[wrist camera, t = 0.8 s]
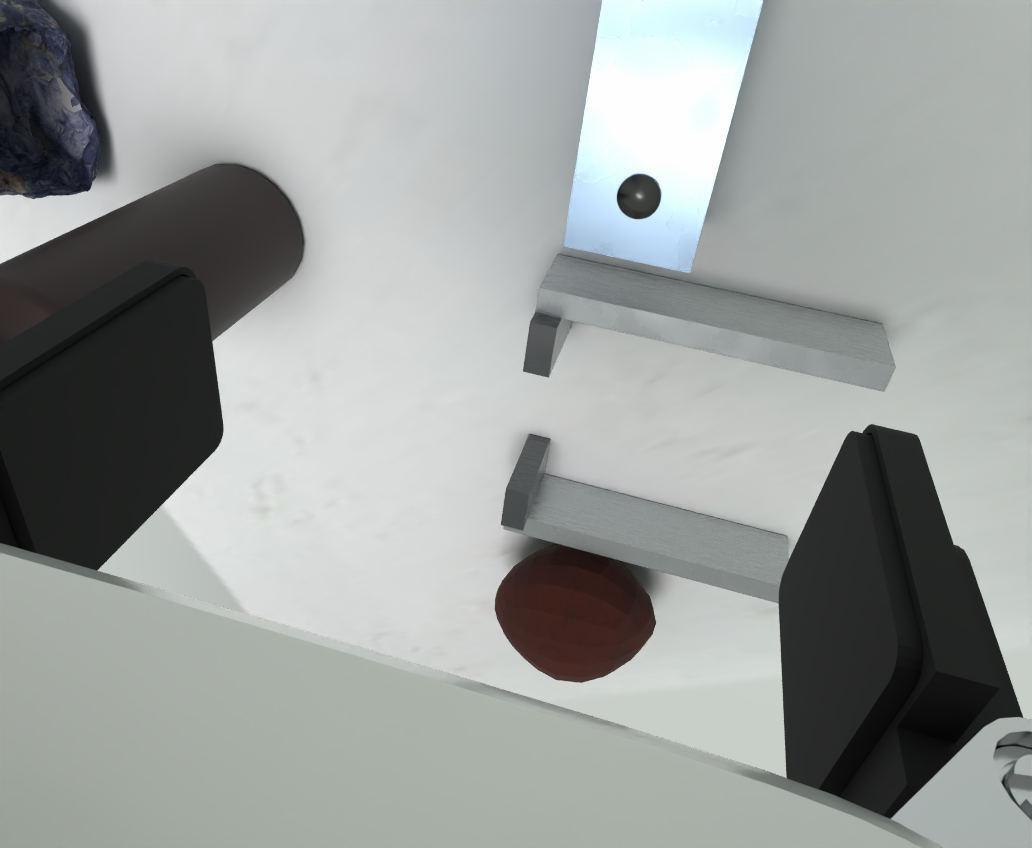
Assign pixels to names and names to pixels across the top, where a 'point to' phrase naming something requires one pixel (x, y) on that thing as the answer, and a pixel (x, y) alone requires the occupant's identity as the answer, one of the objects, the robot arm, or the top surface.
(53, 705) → the robot arm
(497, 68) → the top surface
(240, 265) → the bottle
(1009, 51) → the top surface
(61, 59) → the rock
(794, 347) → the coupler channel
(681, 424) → the top surface
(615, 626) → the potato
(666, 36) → the lock block
